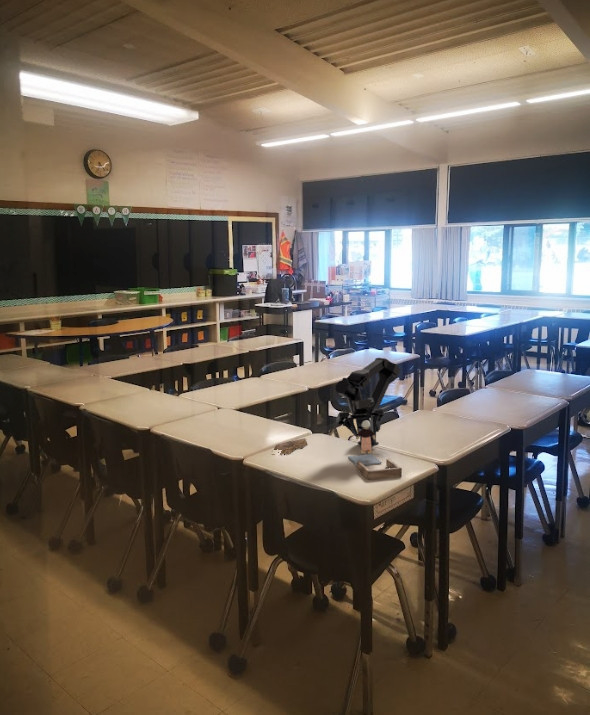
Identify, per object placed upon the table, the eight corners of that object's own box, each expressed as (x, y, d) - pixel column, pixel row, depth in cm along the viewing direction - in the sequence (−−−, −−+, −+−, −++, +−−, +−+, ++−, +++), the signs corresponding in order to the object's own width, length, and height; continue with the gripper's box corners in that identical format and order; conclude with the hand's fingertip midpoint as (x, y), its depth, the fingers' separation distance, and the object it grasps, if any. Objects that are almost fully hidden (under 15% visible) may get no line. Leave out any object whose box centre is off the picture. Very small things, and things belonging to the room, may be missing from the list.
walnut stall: (356, 469, 224) (356, 461, 224) (388, 466, 228) (388, 458, 227) (368, 479, 214) (368, 471, 213) (401, 476, 217) (401, 468, 217)
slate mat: (347, 457, 237) (347, 456, 237) (371, 455, 240) (371, 454, 240) (357, 466, 228) (357, 464, 227) (381, 463, 230) (381, 462, 230)
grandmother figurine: (371, 449, 236) (372, 418, 234) (376, 452, 233) (377, 421, 230) (354, 451, 234) (354, 420, 232) (358, 454, 230) (358, 422, 228)
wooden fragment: (283, 458, 237) (283, 455, 237) (261, 453, 243) (261, 450, 243) (318, 442, 258) (318, 439, 258) (297, 437, 264) (297, 435, 264)
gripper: (338, 392, 231) (348, 427, 223) (383, 389, 236) (394, 423, 228) (331, 406, 240) (341, 441, 232) (374, 403, 245) (385, 437, 237)
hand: (365, 435), depth 232 cm, fingers closed on grandmother figurine, 7 cm apart
